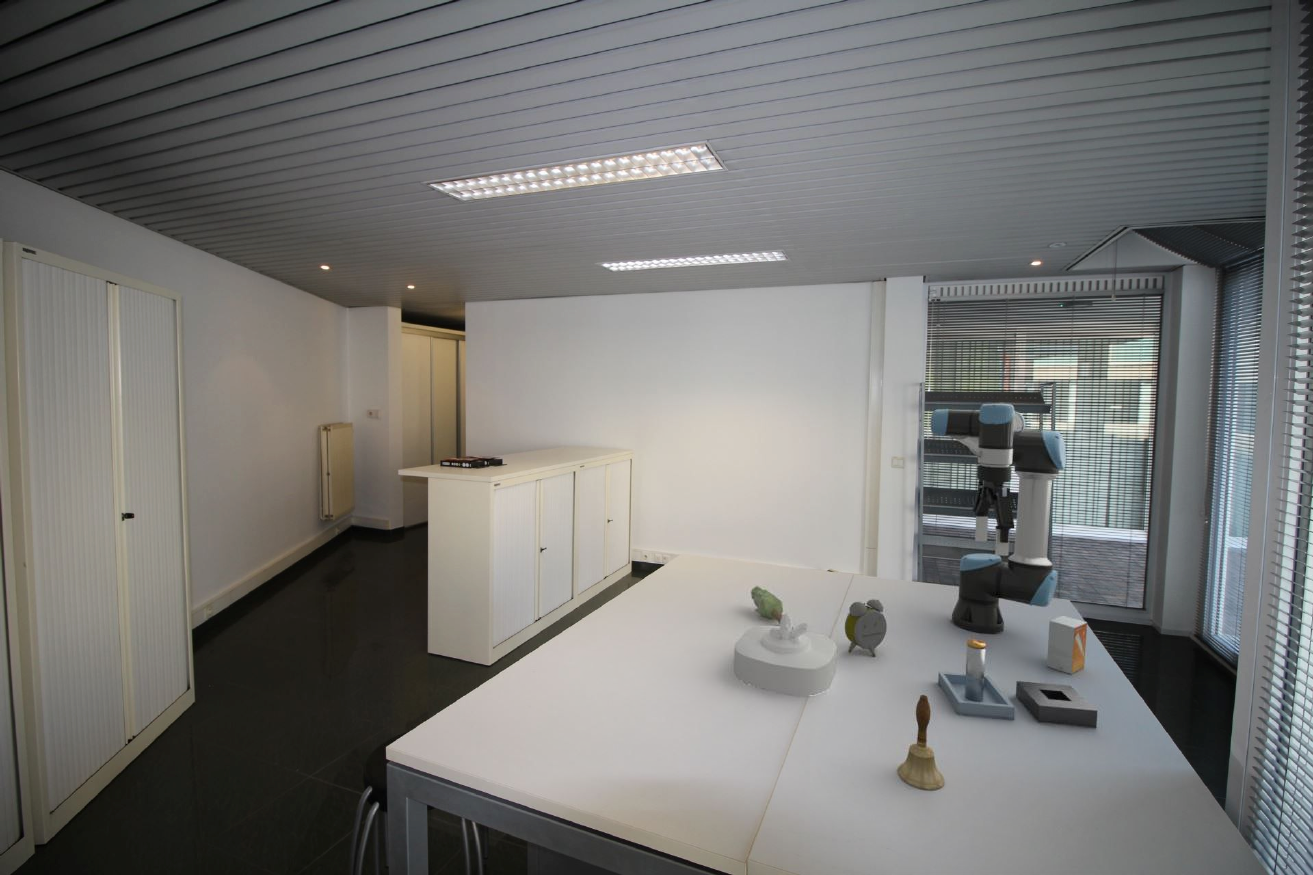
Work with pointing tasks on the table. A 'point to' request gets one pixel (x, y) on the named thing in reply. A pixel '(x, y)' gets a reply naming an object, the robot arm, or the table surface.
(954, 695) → the tray
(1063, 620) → the small box
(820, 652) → the tissue box
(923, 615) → the table surface
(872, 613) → the alarm clock
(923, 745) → the hand bell
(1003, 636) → the table surface
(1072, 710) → the block
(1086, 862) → the table surface
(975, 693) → the steel pin
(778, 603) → the decorative object
